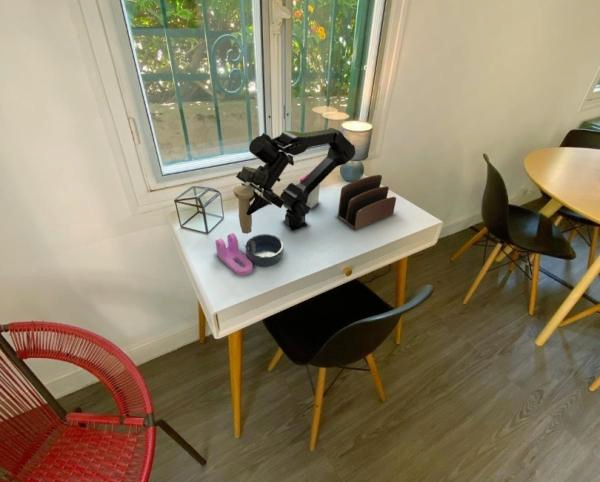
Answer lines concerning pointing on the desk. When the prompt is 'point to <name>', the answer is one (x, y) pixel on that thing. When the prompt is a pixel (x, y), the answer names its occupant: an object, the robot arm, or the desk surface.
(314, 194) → the supplement box
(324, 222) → the desk surface
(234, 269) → the bracket
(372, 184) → the letter holder
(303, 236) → the desk surface
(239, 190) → the handle
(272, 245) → the dark grey ring
